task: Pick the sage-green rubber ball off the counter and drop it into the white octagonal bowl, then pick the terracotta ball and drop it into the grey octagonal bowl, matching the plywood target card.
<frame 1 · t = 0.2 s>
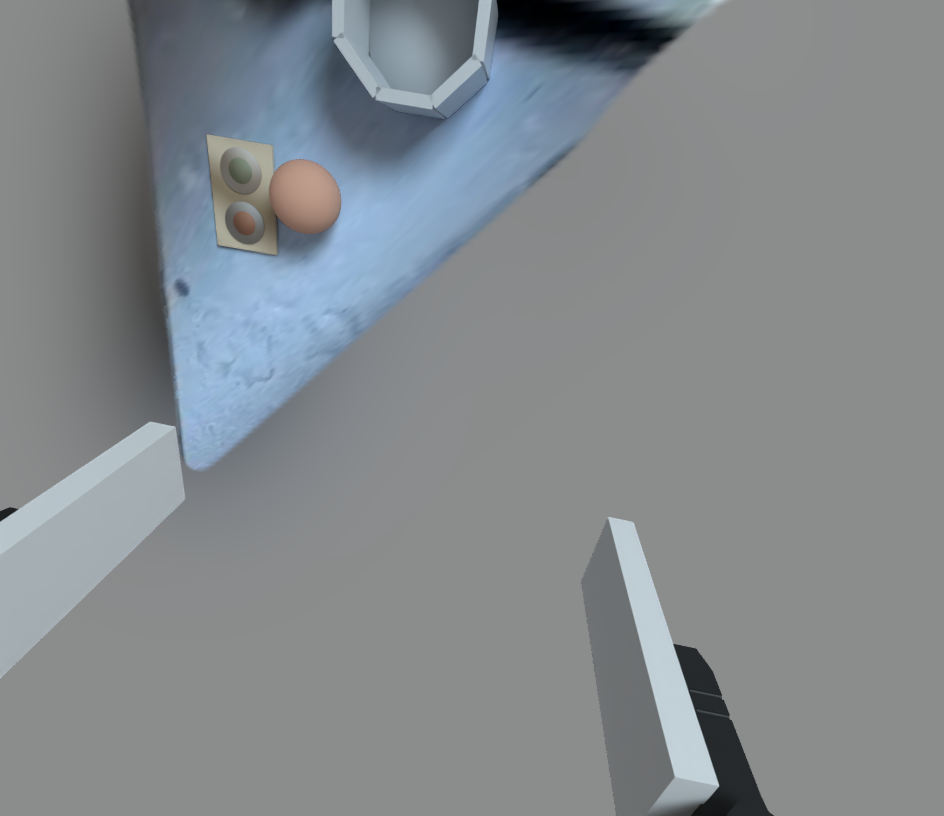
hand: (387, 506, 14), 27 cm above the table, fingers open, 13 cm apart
terracotta ball: (319, 196, 36), on the table
target card: (245, 197, 37), on the table
grey octagonal bowl: (427, 36, 31), on the table
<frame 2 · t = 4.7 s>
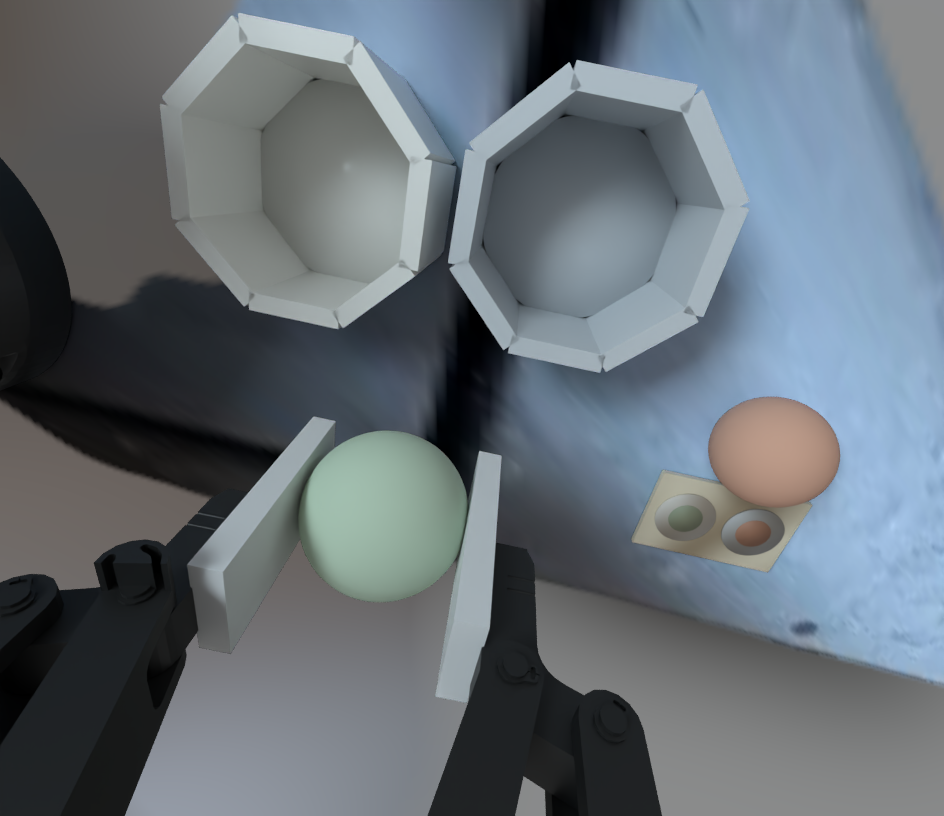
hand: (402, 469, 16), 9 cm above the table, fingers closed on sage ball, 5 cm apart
terracotta ball: (746, 425, 23), on the table
target card: (716, 521, 26), on the table
sage ball: (405, 467, 16), point 9 cm above the table, touching gripper
grey octagonal bowl: (575, 224, 20), on the table
white octagonal bowl: (351, 189, 20), on the table
when the fingers open (7 cm above the table, at t = 6.7 s): sage ball drops 6 cm, resting on white octagonal bowl.
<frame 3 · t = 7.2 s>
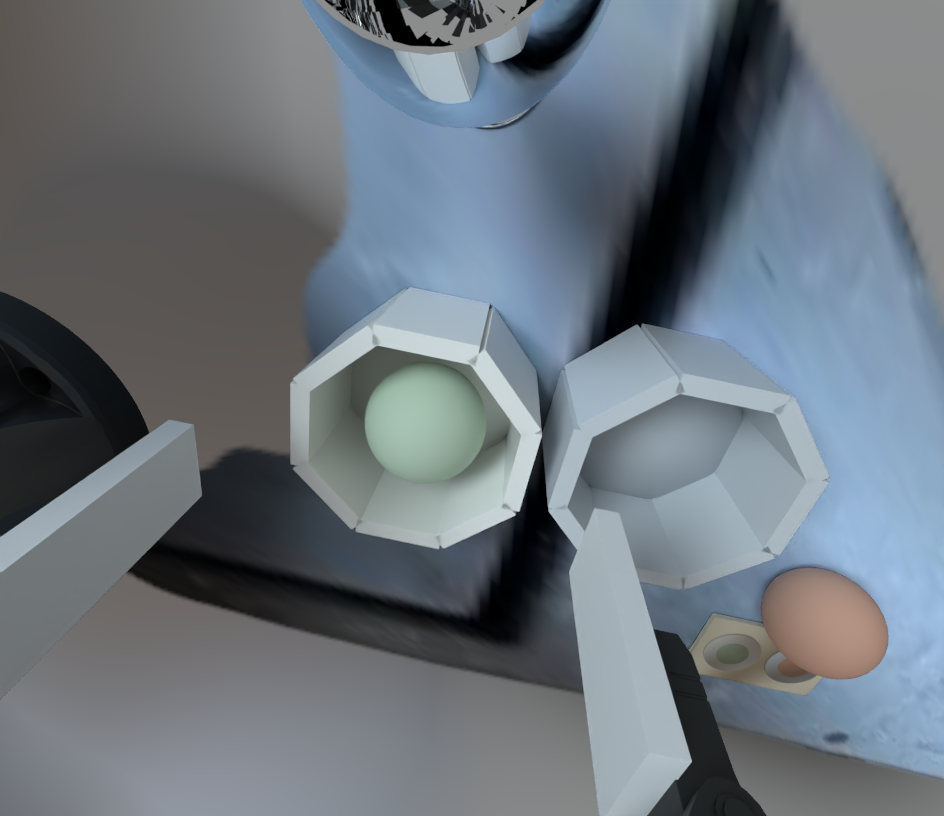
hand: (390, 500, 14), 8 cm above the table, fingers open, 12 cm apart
terracotta ball: (793, 581, 25), on the table
target card: (760, 653, 28), on the table
sage ball: (431, 395, 21), point 1 cm above the table, tilted 5°, touching white octagonal bowl
grey octagonal bowl: (645, 422, 22), on the table
white octagonal bowl: (434, 388, 22), on the table
wineglass: (489, 53, 16), on the table
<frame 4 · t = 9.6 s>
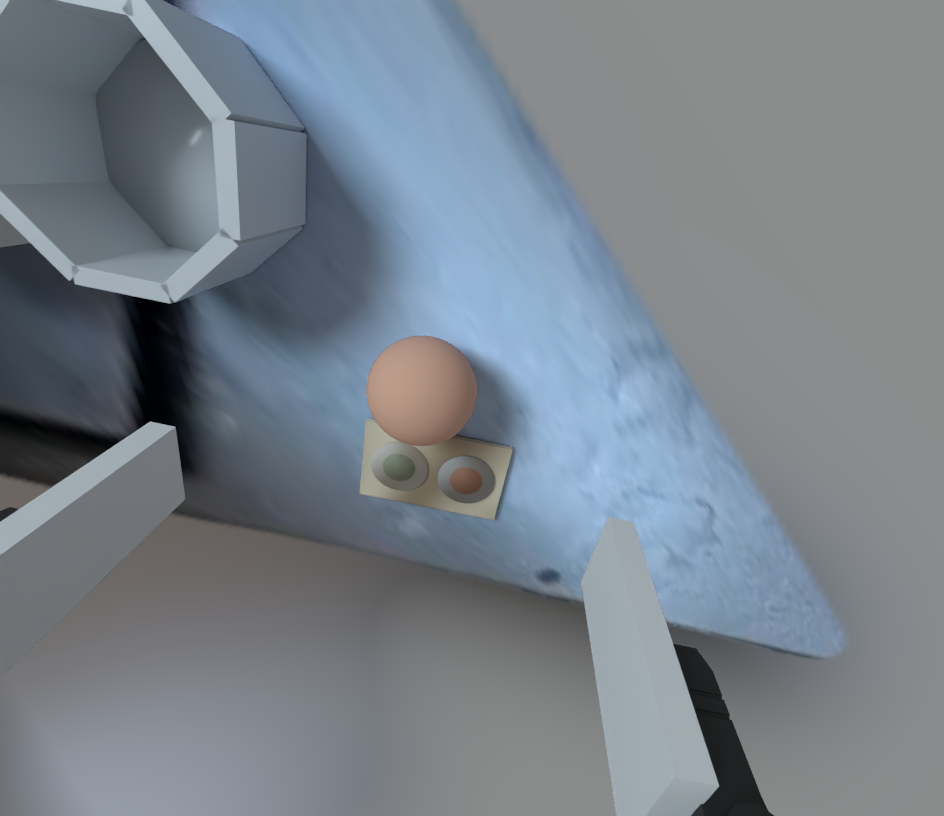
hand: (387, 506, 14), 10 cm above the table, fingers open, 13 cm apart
terracotta ball: (431, 370, 23), on the table
target card: (433, 469, 26), on the table
grey octagonal bowl: (201, 159, 20), on the table
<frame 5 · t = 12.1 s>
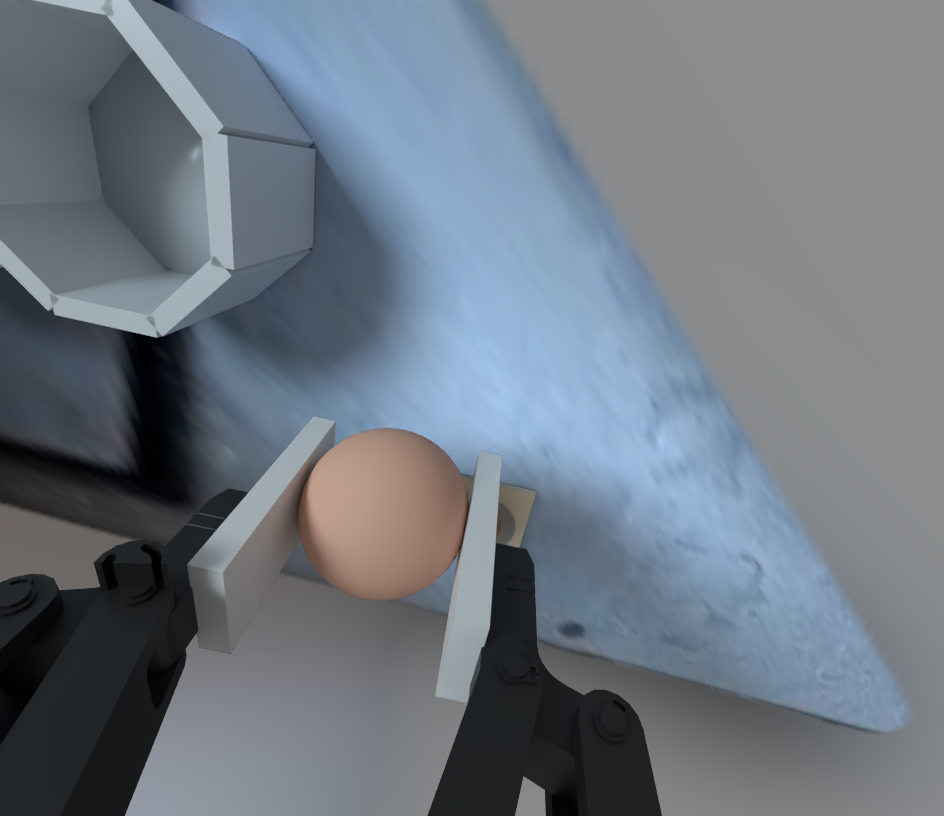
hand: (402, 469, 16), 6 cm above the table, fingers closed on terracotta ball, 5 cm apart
terracotta ball: (405, 464, 16), point 5 cm above the table, touching gripper
target card: (448, 512, 24), on the table
grey octagonal bowl: (202, 176, 18), on the table
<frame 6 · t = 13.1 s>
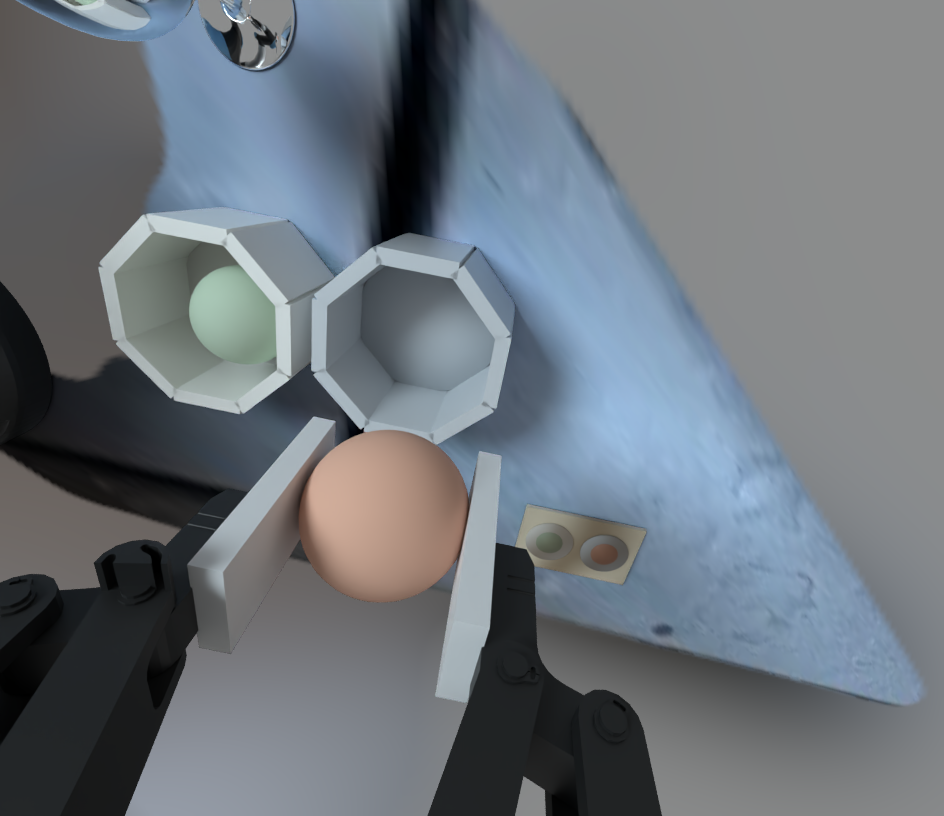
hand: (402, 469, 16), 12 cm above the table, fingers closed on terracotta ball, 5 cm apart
terracotta ball: (406, 466, 16), point 12 cm above the table, touching gripper
target card: (576, 544, 32), on the table
sage ball: (251, 301, 26), point 1 cm above the table, tilted 23°, touching white octagonal bowl
grey octagonal bowl: (430, 322, 26), on the table
white octagonal bowl: (259, 296, 26), on the table
wineglass: (249, 11, 21), on the table
when the fingers open (7 cm above the table, at t = 14.4 s): terracotta ball drops 6 cm, resting on grey octagonal bowl.
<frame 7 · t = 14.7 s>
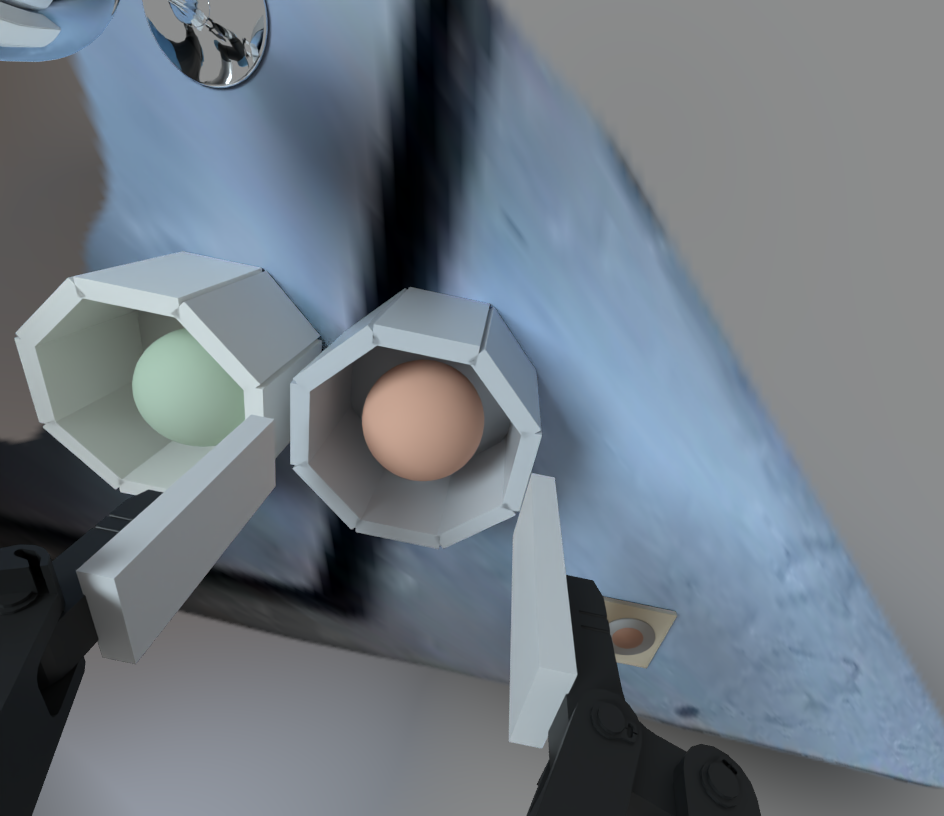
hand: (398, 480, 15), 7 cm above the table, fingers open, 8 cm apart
terracotta ball: (431, 394, 21), point 1 cm above the table, touching grey octagonal bowl
target card: (595, 625, 28), on the table
sage ball: (219, 362, 21), point 1 cm above the table, tilted 20°, touching white octagonal bowl
grey octagonal bowl: (434, 388, 22), on the table
white octagonal bowl: (228, 355, 22), on the table
wineglass: (209, 13, 16), on the table
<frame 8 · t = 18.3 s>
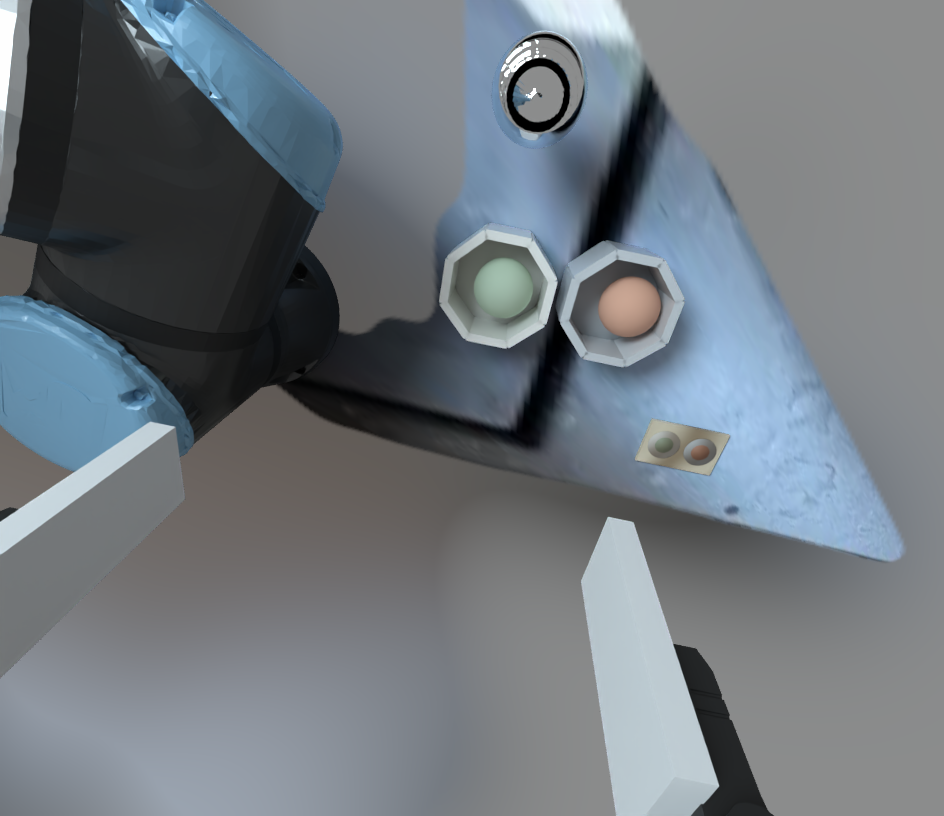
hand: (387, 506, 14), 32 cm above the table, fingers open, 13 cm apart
terracotta ball: (610, 298, 41), point 1 cm above the table, tilted 28°, touching grey octagonal bowl
target card: (680, 446, 48), on the table
sage ball: (498, 281, 41), point 1 cm above the table, tilted 12°, touching white octagonal bowl
grey octagonal bowl: (609, 295, 41), on the table
white octagonal bowl: (499, 278, 42), on the table
wineglass: (534, 112, 36), on the table
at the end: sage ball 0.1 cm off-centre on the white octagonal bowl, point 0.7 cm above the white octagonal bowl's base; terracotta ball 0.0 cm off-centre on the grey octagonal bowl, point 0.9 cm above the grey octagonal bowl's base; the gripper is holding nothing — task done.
